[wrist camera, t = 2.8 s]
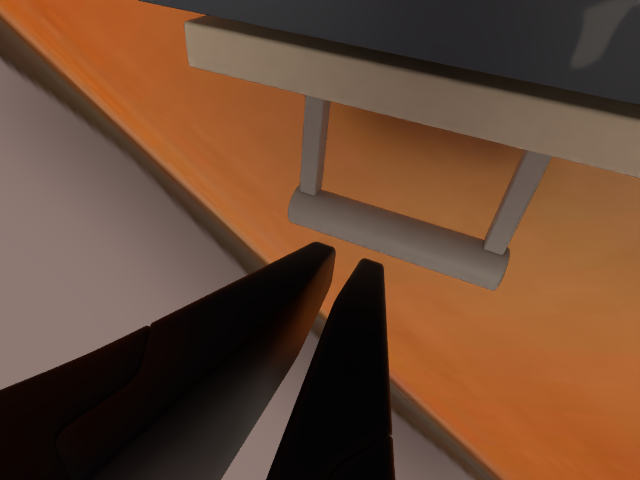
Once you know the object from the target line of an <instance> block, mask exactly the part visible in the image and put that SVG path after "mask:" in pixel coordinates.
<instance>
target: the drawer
mask: <svg viewBox="0 0 640 480" xmlns="http://www.w3.org/2000/svg"><path fill="white" fill-rule="evenodd" d="M184 29H185V37H186V46H187V55H188V63H189V66H191V67H195V68H199V69H203V70H207V71H211V72H215V73H219V74H223V75H227V76H231V77H235V78H239V79H243V80H247V81H251V82H255V83H259V84H263V85H267V86H271V87H275V88H279V89H283V90H287V91H291V92H295V93H299V94H303V95H306V96H305V112H304V128H303V144H302V160H301V176H300V185H299V186H298V187H297V188H296V190H295V191H294V193H293V195H292V198H291V200H290V204H289V208H288V219H289V221H290V222H292V223H295V224H298V225H301V226H303V227H306V228H309V229H312V230H315V231H318V232H321V233H324V234H327V235H330V236H333V237H336V238H339V239H342V240H345V241H348V242H351V243H354V244H356V245H359V246H362V247H365V248H368V249H371V250H374V251H377V252H380V253H383V254H386V255H389V256H392V257H395V258H398V259H401V260H404V261H407V262H410V263H412V264H415V265H418V266H421V267H424V268H427V269H430V270H433V271H436V272H439V273H442V274H445V275H448V276H451V277H454V278H457V279H460V280H463V281H466V282H468V283H471V284H474V285H477V286H480V287H483V288H486V289H489V290H492V291H493V290H496V289H497V288H498V286H499V285H500V283H501V281H502V279H503V276H504V274H505V271H506V268H507V265H508V261H509V257H510V249H509V248H508V247H507V246H508V244H509V242H510V240H511V238H512V236H513V234H514V232H515V230H516V228H517V226H518V224H519V222H520V220H521V218H522V216H523V214H524V212H525V210H526V208H527V206H528V204H529V202H530V200H531V198H532V196H533V194H534V192H535V190H536V188H537V186H538V184H539V182H540V180H541V178H542V176H543V174H544V172H545V170H546V168H547V166H548V164H549V162H550V160H551V158H552V156H553V157H557V158H561V159H565V160H569V161H573V162H577V163H581V164H585V165H589V166H593V167H597V168H601V169H605V170H609V171H613V172H617V173H621V174H625V175H629V176H633V177H637V178H640V105H638V104H633V103H628V102H624V101H619V100H614V99H609V98H604V97H599V96H595V95H590V94H585V93H580V92H575V91H571V90H566V89H561V88H556V87H551V86H547V85H542V84H537V83H532V82H527V81H522V80H518V79H513V78H508V77H503V76H498V75H494V74H489V73H484V72H479V71H474V70H470V69H465V68H460V67H455V66H450V65H446V64H441V63H436V62H431V61H426V60H421V59H417V58H412V57H407V56H402V55H397V54H393V53H388V52H383V51H378V50H373V49H369V48H364V47H359V46H354V45H349V44H344V43H340V42H335V41H330V40H325V39H320V38H316V37H311V36H306V35H301V34H296V33H292V32H287V31H282V30H277V29H272V28H267V27H263V26H258V25H253V24H248V23H243V22H239V21H234V20H229V19H224V18H219V17H215V16H210V15H206V16H203V17H199V18H196V19H192V20H189V21H186V22H185V23H184ZM330 101H331V102H335V103H340V104H344V105H348V106H352V107H356V108H360V109H364V110H368V111H372V112H376V113H380V114H384V115H388V116H392V117H396V118H400V119H404V120H408V121H412V122H416V123H420V124H424V125H428V126H432V127H436V128H440V129H444V130H448V131H452V132H456V133H460V134H464V135H468V136H472V137H476V138H480V139H484V140H488V141H492V142H496V143H500V144H504V145H508V146H512V147H516V148H520V149H524V151H523V153H522V155H521V158H520V160H519V162H518V164H517V167H516V169H515V171H514V173H513V176H512V178H511V180H510V182H509V185H508V187H507V189H506V191H505V194H504V196H503V198H502V201H501V203H500V205H499V207H498V210H497V212H496V214H495V216H494V219H493V221H492V223H491V225H490V228H489V230H488V232H487V234H486V237H485V240H482V239H479V238H476V237H473V236H469V235H466V234H463V233H460V232H456V231H453V230H450V229H447V228H444V227H440V226H437V225H434V224H431V223H427V222H424V221H421V220H418V219H415V218H411V217H408V216H405V215H402V214H398V213H395V212H392V211H389V210H386V209H382V208H379V207H376V206H373V205H369V204H366V203H363V202H360V201H357V200H353V199H350V198H347V197H344V196H340V195H337V194H334V193H331V192H328V191H324V190H321V188H322V179H323V169H324V160H325V150H326V140H327V130H328V120H329V111H330Z"/></svg>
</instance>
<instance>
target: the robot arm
mask: <svg viewBox="0 0 640 480" xmlns="http://www.w3.org/2000/svg"><path fill="white" fill-rule="evenodd" d="M335 256H336V251H335V249H334V248H333V247H331V246H329V245H326V244H323V243H320V242H313V243H311V244H309V245H307V246H305V247H303V248H301V249H299V250H297V251H295V252H293V253H291V254H289V255H287V256H285V257H283V258H281V259H279V260H277V261H275V262H273V263H271V264H269V265H267V266H265V267H263V268H261V269H259V270H257V271H255V272H253V273H251V274H249V275H247V276H245V277H243V278H241V279H239V280H237V281H235V282H233V283H231V284H229V285H227V286H225V287H223V288H221V289H219V290H217V291H215V292H213V293H211V294H209V295H207V296H205V297H203V298H201V299H199V300H197V301H195V302H193V303H191V304H189V305H187V306H185V307H183V308H181V309H179V310H177V311H175V312H173V313H171V314H169V315H167V316H165V317H163V318H161V319H159V320H157V321H155V322H153V323H152V324H151V325H150V327H149V326H145V327H143V328H141V329H139V330H137V331H135V332H133V333H131V334H129V335H127V336H124V337H122V338H120V339H118V340H116V341H114V342H112V343H110V344H108V345H105V346H104V347H101V348H100V349H97V350H95V351H93V352H91V353H88V354H86V355H84V356H82V357H79V358H77V359H75V360H72V361H70V362H67V363H65V364H63V365H60V366H59V367H56V368H53V369H51V370H48V371H46V372H44V373H41V374H39V375H36V376H34V377H31V378H29V379H26V380H24V381H21V382H19V383H16V384H14V385H11V386H9V387H6V388H4V389H2V390H0V480H221V479H222V477H223V475H224V474H225V472H226V471H227V469H228V467H229V466H230V464H231V463H232V461H233V459H234V458H235V456H236V455H237V453H238V451H239V450H240V448H241V447H242V445H243V443H244V442H245V440H246V439H247V437H248V435H249V433H250V432H251V430H252V429H253V427H254V426H255V424H256V423H257V421H258V419H259V417H260V416H261V415H262V413H263V411H264V410H265V408H266V406H267V405H268V403H269V402H270V400H271V398H272V397H273V395H274V393H275V392H276V390H277V389H278V387H279V386H280V384H281V382H282V381H283V379H284V378H285V376H286V374H287V373H288V371H289V369H290V368H291V366H292V365H293V363H294V361H295V360H296V358H297V356H298V354H299V352H300V350H301V348H302V346H303V344H304V342H305V340H306V338H307V336H308V333H309V331H310V329H311V327H312V325H313V323H314V320H315V318H316V316H317V314H318V312H319V310H320V308H321V305H322V303H323V301H324V299H325V297H326V295H327V293H328V290H329V288H330V285H331V282H332V276H333V270H334V263H335ZM391 435H392V421H391V400H390V381H389V361H388V342H387V322H386V303H385V283H384V267H383V265H382V264H380V263H378V262H375V261H372V260H369V259H366V258H364V259H362V260H360V262H359V263H358V265H357V266H356V268H355V270H354V271H353V273H352V274H351V276H350V277H349V279H348V281H347V282H346V284H345V285H344V287H343V288H342V290H341V291H340V293H339V295H338V296H337V298H336V300H335V302H334V304H333V306H332V309H331V311H330V314H329V316H328V319H327V321H326V324H325V327H324V329H323V332H322V335H321V337H320V340H319V342H318V345H317V348H316V350H315V353H314V356H313V358H312V361H311V363H310V366H309V369H308V371H307V374H306V376H305V379H304V382H303V384H302V387H301V390H300V392H299V395H298V397H297V400H296V403H295V405H294V408H293V411H292V413H291V416H290V418H289V421H288V424H287V426H286V429H285V432H284V434H283V437H282V439H281V442H280V444H279V447H278V450H277V452H276V455H275V458H274V460H273V463H272V465H271V468H270V471H269V473H268V476H267V479H266V480H395V469H394V454H393V439H392V437H391Z"/></svg>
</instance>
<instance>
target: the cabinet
mask: <svg viewBox="0 0 640 480" xmlns="http://www.w3.org/2000/svg"><path fill="white" fill-rule="evenodd" d="M138 1H142V2H147V3H152V4H157V5H162V6H166V7H171V8H176V9H181V10H186V11H191V12H195V13H200V14H205V15H210V16H215V17H219V18H224V19H229V20H234V21H239V22H243V23H248V24H253V25H258V26H263V27H267V28H272V29H277V30H282V31H287V32H292V33H296V34H301V35H306V36H311V37H316V38H320V39H325V40H330V41H335V42H340V43H344V44H349V45H354V46H359V47H364V48H369V49H373V50H378V51H383V52H388V53H393V54H397V55H402V56H407V57H412V58H417V59H421V60H426V61H431V62H436V63H441V64H446V65H450V66H455V67H460V68H465V69H470V70H474V71H479V72H484V73H489V74H494V75H498V76H503V77H508V78H513V79H518V80H522V81H527V82H532V83H537V84H542V85H547V86H551V87H556V88H561V89H566V90H571V91H575V92H580V93H585V94H590V95H595V96H599V97H604V98H609V99H614V100H619V101H624V102H628V103H633V104H638V105H640V0H138Z"/></svg>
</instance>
